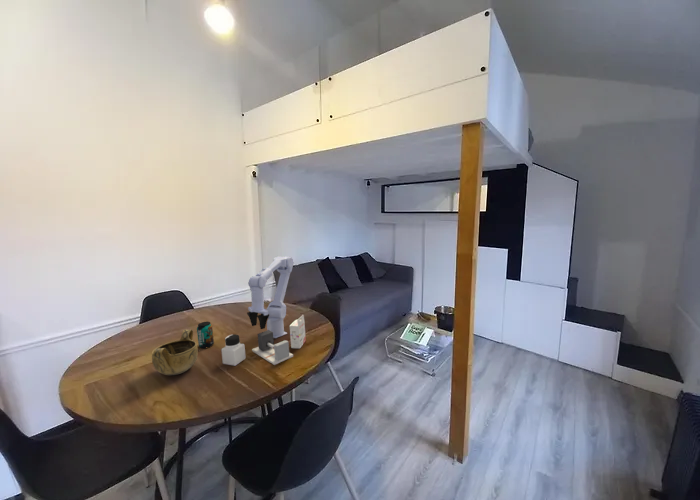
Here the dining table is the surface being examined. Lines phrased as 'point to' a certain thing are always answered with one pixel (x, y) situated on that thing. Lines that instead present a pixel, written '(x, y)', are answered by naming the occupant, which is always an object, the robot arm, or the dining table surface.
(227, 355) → the medicine bottle
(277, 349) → the pipe stand
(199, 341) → the beverage can
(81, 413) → the dining table surface
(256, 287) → the robot arm
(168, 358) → the ceramic bowl
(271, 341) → the grey square sleeve
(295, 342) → the ink cartridge box
